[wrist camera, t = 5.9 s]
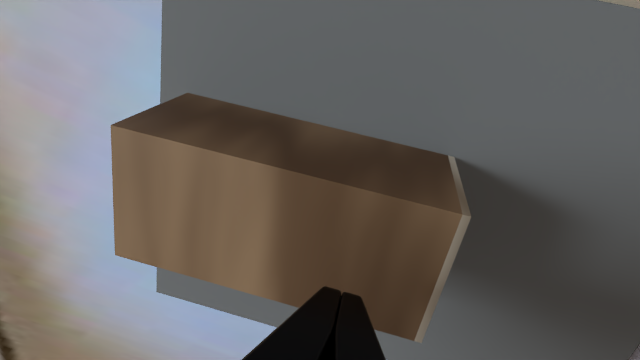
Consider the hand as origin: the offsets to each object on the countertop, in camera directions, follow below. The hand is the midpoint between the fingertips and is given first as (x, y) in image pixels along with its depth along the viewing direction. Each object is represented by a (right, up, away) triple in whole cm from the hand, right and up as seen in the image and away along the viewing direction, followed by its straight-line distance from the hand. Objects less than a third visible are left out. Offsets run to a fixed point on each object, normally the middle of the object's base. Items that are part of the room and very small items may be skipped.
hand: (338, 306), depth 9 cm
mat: (+3, +2, +5) cm, 6 cm away
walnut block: (+3, +1, +3) cm, 4 cm away
